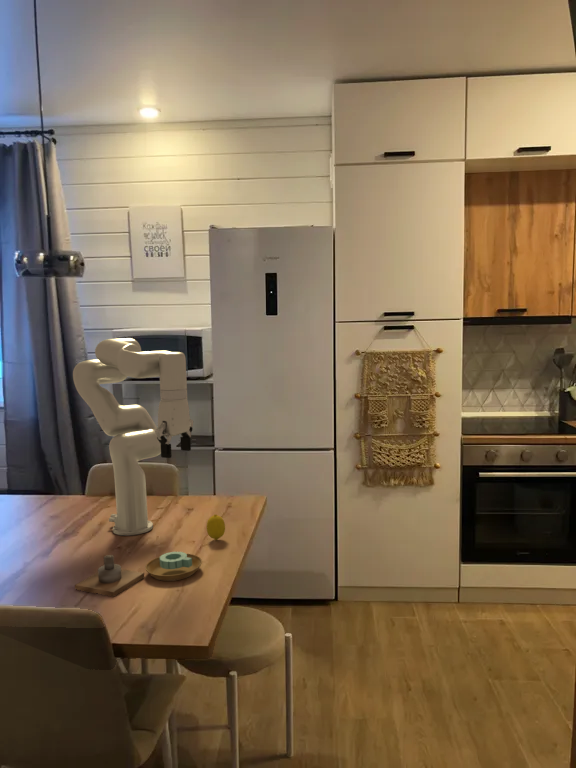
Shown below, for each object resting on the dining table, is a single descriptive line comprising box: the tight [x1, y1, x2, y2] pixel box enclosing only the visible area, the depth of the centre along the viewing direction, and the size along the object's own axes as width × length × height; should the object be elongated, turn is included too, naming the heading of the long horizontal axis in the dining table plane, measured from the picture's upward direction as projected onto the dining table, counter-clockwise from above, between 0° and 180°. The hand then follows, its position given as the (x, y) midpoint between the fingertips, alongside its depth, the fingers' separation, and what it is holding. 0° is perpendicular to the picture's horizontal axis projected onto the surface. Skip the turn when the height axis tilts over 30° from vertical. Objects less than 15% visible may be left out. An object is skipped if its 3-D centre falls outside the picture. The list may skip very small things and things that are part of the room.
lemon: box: [206, 514, 226, 541], centre depth 183 cm, size 6×6×8 cm
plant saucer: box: [144, 553, 203, 582], centre depth 160 cm, size 15×15×3 cm
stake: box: [74, 554, 145, 598], centre depth 154 cm, size 12×12×7 cm
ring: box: [159, 551, 192, 569], centre depth 160 cm, size 9×7×2 cm
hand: (176, 453), depth 176 cm, fingers open, 9 cm apart
